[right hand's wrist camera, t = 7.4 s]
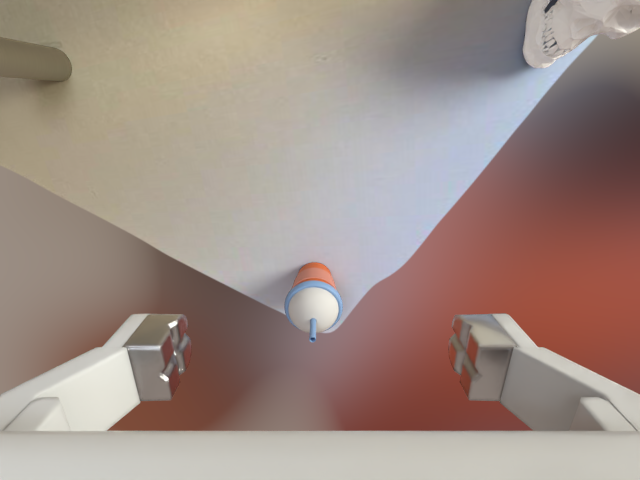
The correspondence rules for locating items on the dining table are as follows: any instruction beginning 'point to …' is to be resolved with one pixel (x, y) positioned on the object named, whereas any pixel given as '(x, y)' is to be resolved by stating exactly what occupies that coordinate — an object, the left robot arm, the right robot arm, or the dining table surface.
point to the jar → (32, 61)
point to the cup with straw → (313, 300)
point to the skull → (574, 26)
